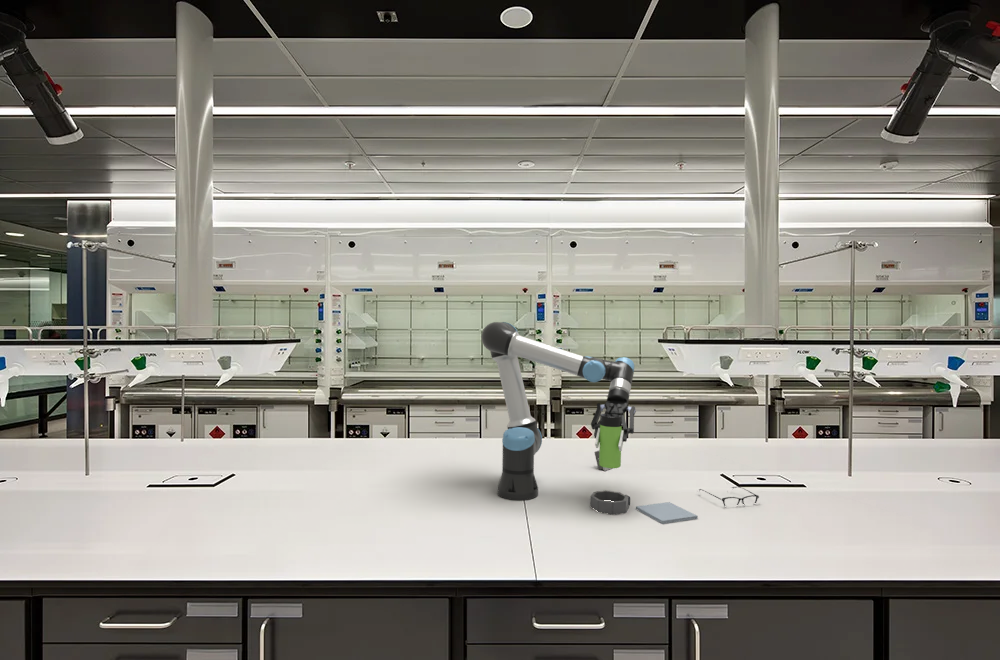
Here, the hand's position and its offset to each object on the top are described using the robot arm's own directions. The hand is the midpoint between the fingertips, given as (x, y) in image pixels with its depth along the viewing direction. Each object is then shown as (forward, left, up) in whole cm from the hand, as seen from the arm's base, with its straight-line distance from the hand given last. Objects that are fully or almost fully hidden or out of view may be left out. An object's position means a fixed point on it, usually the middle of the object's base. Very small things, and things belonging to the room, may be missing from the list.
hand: (608, 447), depth 176 cm
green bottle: (+2, +3, -7) cm, 8 cm away
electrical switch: (+28, +46, -22) cm, 59 cm away
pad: (+17, -9, -22) cm, 29 cm away
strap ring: (+2, +2, -22) cm, 22 cm away
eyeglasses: (+48, -3, -22) cm, 53 cm away
